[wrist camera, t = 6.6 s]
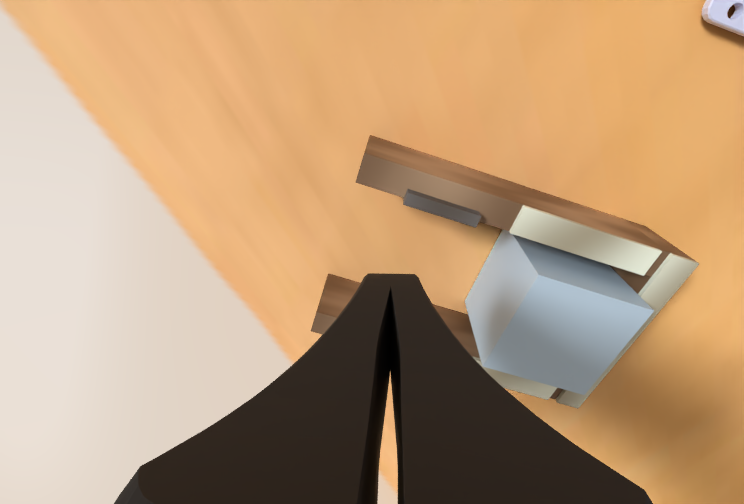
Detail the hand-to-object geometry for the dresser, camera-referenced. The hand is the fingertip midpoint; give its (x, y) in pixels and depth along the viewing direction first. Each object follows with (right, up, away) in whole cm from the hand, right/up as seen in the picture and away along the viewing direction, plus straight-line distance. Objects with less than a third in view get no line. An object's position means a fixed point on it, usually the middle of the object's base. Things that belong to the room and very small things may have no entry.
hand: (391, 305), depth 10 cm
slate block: (+8, 0, +10) cm, 13 cm away
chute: (+5, +1, +10) cm, 11 cm away
